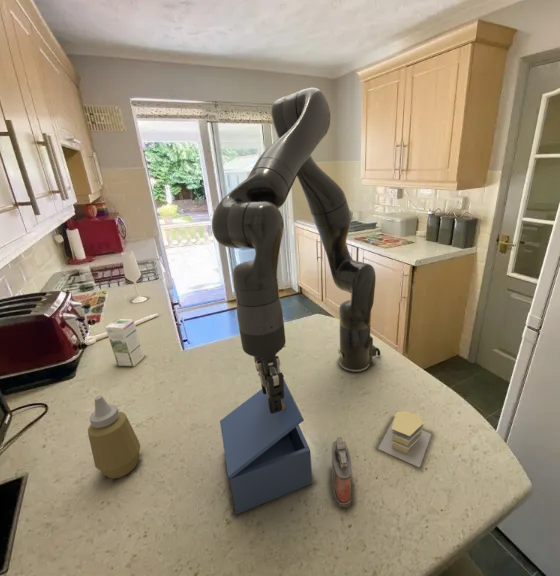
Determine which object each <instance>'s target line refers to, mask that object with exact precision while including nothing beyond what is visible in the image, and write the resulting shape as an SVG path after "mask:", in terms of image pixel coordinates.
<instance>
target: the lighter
mask: <svg viewBox="0 0 560 576" xmlns="http://www.w3.org/2000/svg"><path fill="white" fill-rule="evenodd" d="M331 467H332V469H331V470H332V473H331V479H332V489H333V494H334V498H335V501H336V504H337V505H338V506H339V507H341V508H346V507H349V506H350V505H351V503H352V485H351V477H352V457H351V454H350V450H349V448H348V445H347V443H346V442H345V441H344V438H343V436H337V437H336V440H334V441H333V442H332V446H331Z"/></svg>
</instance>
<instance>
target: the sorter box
mask: <svg viewBox="0 0 560 576" xmlns="http://www.w3.org/2000/svg"><path fill="white" fill-rule="evenodd" d="M303 433H304V432H303V431H302V429H301V426H300V424H299V425H297V426H296V427H295V428H294V429H292V430H291V431H290V432H289V433H287V434H286V435H285V436H284V437H282V438H281V439H280V440H279V441H277V442H276V443H275V444H274V445H272V446H271V447H270V448H269V449H267V450H266V451H265V452H264V453H262V454H261V455H260V456H259V457H257V458H256V459H255V460H254V461H252V462H251V463H250V464H249V465H247V466H246V467H245V468H244V469H242V470H241V471H240V472H239V473H237V474H236V475H235V476H234V477H232V478H229V482H230V488H231V493H232V498H233V504H234V509H235V514H236V515H239V514H241V513H244V512H246V511H249V510H251V509H254V508H256V507H257V506H258V507H259V506H260V505H262V504H263V505H264V504H265V503H268V502H270V501H273V500H275V499H279V498H280V497H283V496H285V495H287V494H289V493H292V492H295V491H297V490H300V489H302V488H305V487H306V486H309V485H312V484H313V475H312V472H313V471H312V456H311V454H312V453H311V448H310V445H309V444H308V441H307V440H306V438H305V435H304V434H303Z"/></svg>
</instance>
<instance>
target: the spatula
mask: <svg viewBox="0 0 560 576" xmlns="http://www.w3.org/2000/svg"><path fill="white" fill-rule="evenodd" d="M158 316H159V314H158V313H153V314H150V315H148V316H145V317H143V318H140V319H137V320H134V323H135V326H137V325H140V324H143V323H146V322H147V321H150V320H152V319H154V318H156V317H158ZM107 337H108V334H107V331H105V332H102V333H99V334H96V335H88V336H85V337H84V339H85V341H86V343H85V344H84V345H86V346H91V345H94V344H95V343H96V342H97V341H99V340H101V339H104V338H107Z"/></svg>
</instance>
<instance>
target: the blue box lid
mask: <svg viewBox="0 0 560 576" xmlns="http://www.w3.org/2000/svg"><path fill="white" fill-rule="evenodd" d="M283 379H284V398H283V399H281V404H282V410H281V411H279V412H276V413H273V414H271V413H270V410H269V404H268V397H267V396H266V394H263V391H262V388H261V389H260V390H258V391H257V392H256V393H254V394H253V395H252V396H251V397H248V398H247V399H246V400H245V401H244V402H243V403H241V404H240V405H239V406H237V407H236V408H235V409H233V410H232V411H230V412H229V413H228V414H227V415H226V416H224V417H223V418H222V419H219V425H220V432H221V438H222V445H223V451H224V459H225V465H226V471H227V477H228V478H229V479H230V478H232V477H234V476H235V475H236V474H237V473H239V472H240V471H241V470H242V469H244V468H245V467H246V466H247V465H249V464H250V463H251V462H252V461H254V460H255V459H256V458H257V457H259V456H260V455H261V454H262V453H264V452H265V451H266V450H267V449H269V448H270V447H271V446H272V445H274V444H275V443H276V442H277V441H279V440H280V439H281V438H282V437H284V436H285V435H286V434H287V433H289V432H290V431H291V430H292V429H294V428H295V427H296V426H297V425H299V426H300V424H301V423H303V422H304V421H305V419H304V417H303V414H302V413H301V411H300V409H299V407H298V405H297V403H296V400H295V398H294V396H293V395H292V393H291V391H290V388H289V386H288V385H287V382H286V381H285V378H284V377H283Z"/></svg>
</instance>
